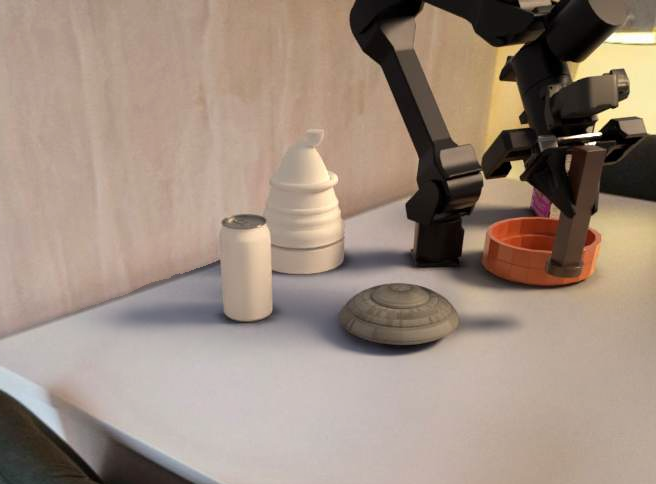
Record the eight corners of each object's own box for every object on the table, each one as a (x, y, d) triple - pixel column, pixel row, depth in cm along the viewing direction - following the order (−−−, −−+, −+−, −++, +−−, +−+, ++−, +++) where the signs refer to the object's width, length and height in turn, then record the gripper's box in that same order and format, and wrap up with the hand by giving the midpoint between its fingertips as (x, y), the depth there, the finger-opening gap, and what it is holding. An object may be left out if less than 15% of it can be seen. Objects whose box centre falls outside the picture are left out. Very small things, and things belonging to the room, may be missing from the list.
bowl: (496, 290, 105) (501, 254, 102) (471, 251, 117) (475, 218, 114) (609, 287, 105) (618, 250, 102) (572, 248, 117) (579, 215, 114)
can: (236, 327, 98) (231, 232, 90) (216, 309, 102) (209, 218, 95) (281, 316, 100) (279, 223, 93) (259, 300, 105) (255, 209, 97)
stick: (537, 267, 94) (561, 145, 86) (567, 262, 95) (594, 141, 87) (558, 280, 91) (585, 154, 82) (589, 275, 92) (619, 150, 83)
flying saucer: (317, 317, 99) (318, 276, 96) (415, 296, 104) (419, 256, 101) (376, 364, 89) (379, 320, 85) (482, 338, 93) (489, 295, 90)
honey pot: (351, 247, 120) (356, 122, 109) (334, 277, 111) (337, 142, 100) (273, 242, 123) (270, 119, 112) (249, 270, 114) (243, 139, 103)
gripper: (512, 46, 79) (552, 185, 78) (661, 34, 84) (701, 166, 82) (464, 115, 90) (498, 238, 89) (598, 102, 94) (633, 219, 93)
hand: (583, 215), depth 88 cm, fingers closed on stick, 2 cm apart
